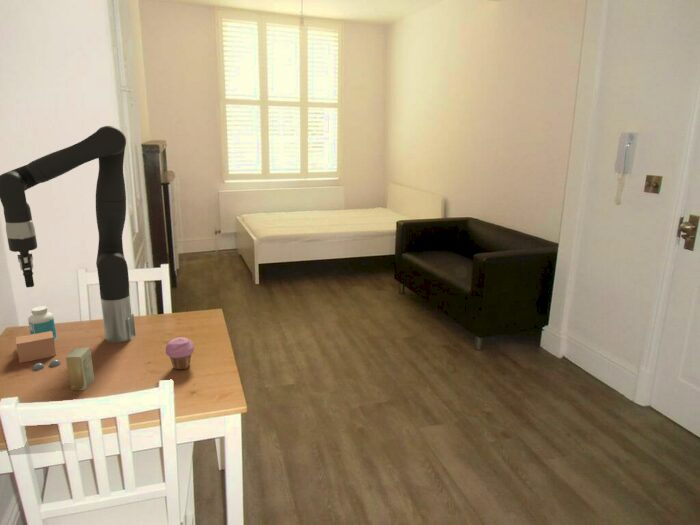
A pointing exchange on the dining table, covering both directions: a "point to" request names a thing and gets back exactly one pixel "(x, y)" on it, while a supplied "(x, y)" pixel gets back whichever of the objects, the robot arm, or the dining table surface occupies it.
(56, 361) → the marble
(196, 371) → the dining table surface
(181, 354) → the cupcake
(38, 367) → the marble
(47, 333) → the tan wooden block
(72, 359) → the skincare box
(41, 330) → the pill bottle
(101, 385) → the dining table surface
